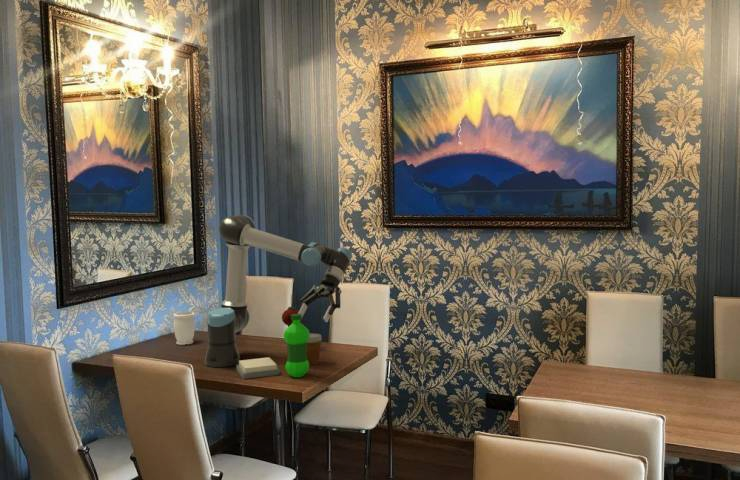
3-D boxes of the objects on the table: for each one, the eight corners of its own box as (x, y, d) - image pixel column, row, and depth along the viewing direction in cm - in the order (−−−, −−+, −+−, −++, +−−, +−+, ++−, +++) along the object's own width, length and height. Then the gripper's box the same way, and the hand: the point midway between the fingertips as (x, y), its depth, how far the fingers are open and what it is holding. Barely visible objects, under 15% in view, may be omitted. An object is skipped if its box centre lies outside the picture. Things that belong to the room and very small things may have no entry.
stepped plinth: (236, 369, 266) (236, 360, 265) (271, 365, 271) (270, 356, 271) (243, 379, 252) (243, 369, 252) (279, 374, 258) (279, 365, 257)
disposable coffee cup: (296, 363, 274) (295, 336, 273) (308, 358, 282) (308, 332, 281) (314, 366, 269) (314, 338, 269) (326, 361, 278) (326, 334, 277)
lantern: (304, 346, 305) (303, 285, 302) (298, 351, 296) (296, 288, 293) (286, 345, 307) (285, 284, 305) (279, 350, 298) (277, 287, 296)
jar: (174, 341, 318) (173, 312, 317) (195, 339, 322) (194, 311, 320) (174, 346, 308) (173, 316, 307) (195, 344, 311) (195, 314, 310)
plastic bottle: (310, 371, 262) (309, 312, 260) (308, 379, 251) (307, 317, 249) (286, 371, 261) (285, 312, 260) (283, 379, 251) (282, 317, 249)
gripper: (359, 285, 269) (340, 327, 257) (313, 282, 282) (292, 321, 271) (352, 275, 264) (332, 316, 252) (305, 271, 277) (284, 311, 266)
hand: (311, 319), depth 261 cm, fingers open, 13 cm apart
